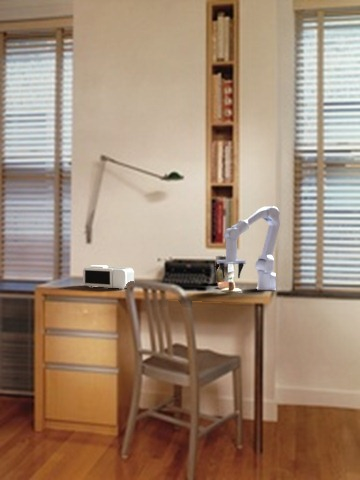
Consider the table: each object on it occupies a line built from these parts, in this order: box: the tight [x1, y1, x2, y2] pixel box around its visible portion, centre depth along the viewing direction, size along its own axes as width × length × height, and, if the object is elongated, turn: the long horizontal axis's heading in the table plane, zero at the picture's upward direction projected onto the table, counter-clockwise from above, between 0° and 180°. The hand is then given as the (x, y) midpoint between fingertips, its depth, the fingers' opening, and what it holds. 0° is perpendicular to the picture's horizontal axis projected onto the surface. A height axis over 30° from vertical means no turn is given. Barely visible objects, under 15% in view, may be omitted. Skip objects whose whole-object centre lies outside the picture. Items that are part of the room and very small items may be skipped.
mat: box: [220, 289, 244, 294], centre depth 276 cm, size 11×11×1 cm
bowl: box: [217, 282, 236, 290], centre depth 288 cm, size 9×9×3 cm
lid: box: [221, 281, 242, 294], centre depth 276 cm, size 10×10×5 cm
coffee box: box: [215, 255, 235, 285], centre depth 307 cm, size 9×6×16 cm
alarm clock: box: [82, 264, 135, 290], centre depth 294 cm, size 27×9×12 cm, turn 65°
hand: (231, 277), depth 276 cm, fingers open, 7 cm apart
